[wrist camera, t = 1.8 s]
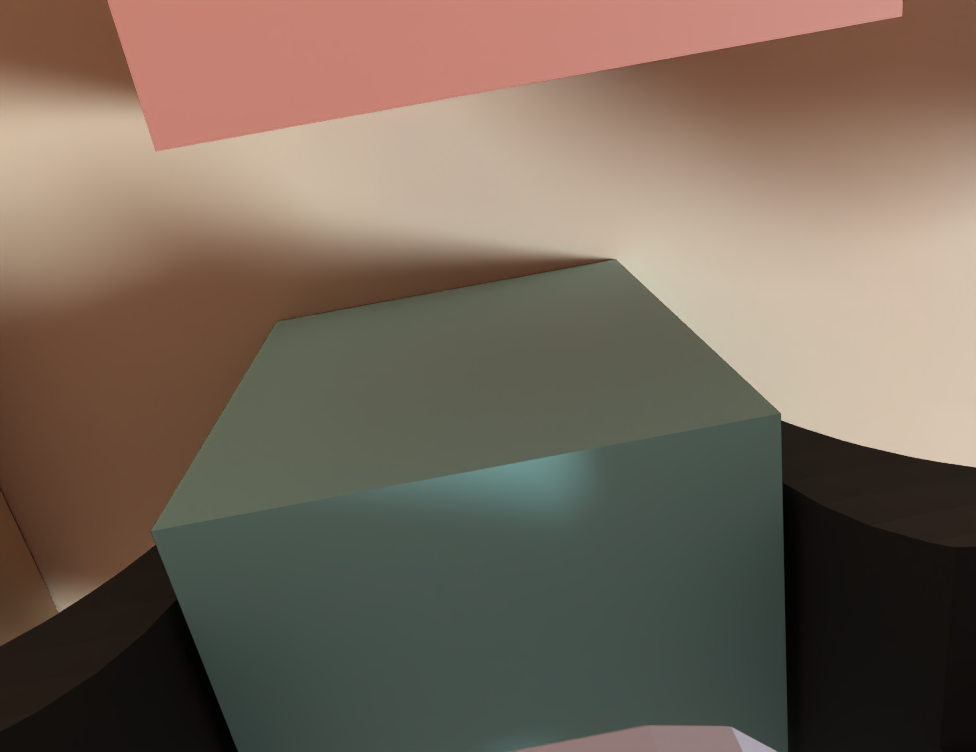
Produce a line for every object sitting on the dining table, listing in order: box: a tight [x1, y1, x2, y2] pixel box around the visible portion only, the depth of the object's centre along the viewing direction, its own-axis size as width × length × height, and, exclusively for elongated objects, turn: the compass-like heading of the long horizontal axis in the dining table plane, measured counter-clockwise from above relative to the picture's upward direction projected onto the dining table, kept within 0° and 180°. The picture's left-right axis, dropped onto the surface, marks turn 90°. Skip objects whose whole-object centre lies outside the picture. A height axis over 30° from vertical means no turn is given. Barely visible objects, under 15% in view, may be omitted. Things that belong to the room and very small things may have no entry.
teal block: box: [151, 259, 788, 752], centre depth 10 cm, size 6×6×6 cm
